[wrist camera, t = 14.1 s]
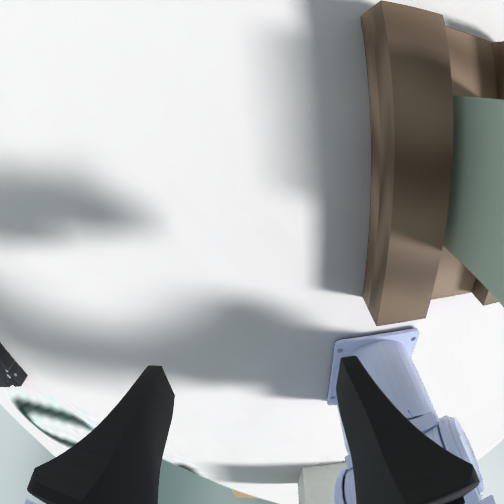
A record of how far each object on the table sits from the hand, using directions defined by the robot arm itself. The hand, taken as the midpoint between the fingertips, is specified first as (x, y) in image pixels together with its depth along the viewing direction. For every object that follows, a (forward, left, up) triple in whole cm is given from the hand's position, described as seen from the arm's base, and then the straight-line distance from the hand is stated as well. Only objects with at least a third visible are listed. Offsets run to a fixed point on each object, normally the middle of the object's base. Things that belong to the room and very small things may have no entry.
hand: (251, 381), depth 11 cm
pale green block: (+6, -15, -9) cm, 18 cm away
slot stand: (+6, -15, -10) cm, 19 cm away
